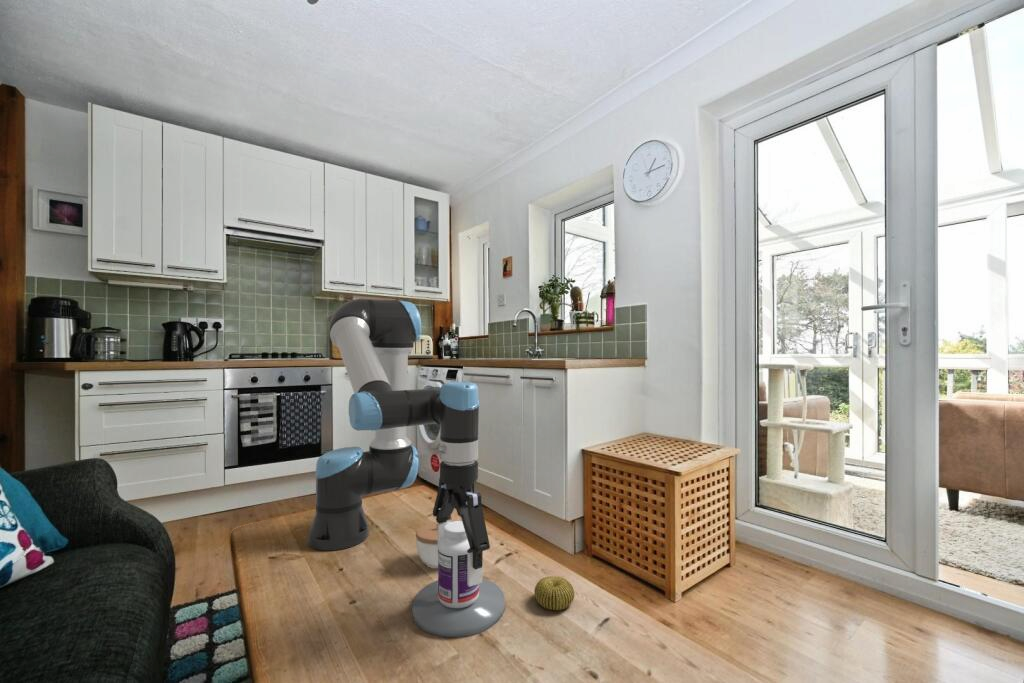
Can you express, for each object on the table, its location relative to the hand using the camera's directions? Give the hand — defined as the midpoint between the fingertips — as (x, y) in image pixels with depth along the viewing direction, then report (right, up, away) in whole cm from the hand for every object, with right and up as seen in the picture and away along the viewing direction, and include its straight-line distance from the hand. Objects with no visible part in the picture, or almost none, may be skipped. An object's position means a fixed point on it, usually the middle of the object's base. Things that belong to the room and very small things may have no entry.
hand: (458, 568), depth 87 cm
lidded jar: (-7, -8, +18) cm, 21 cm away
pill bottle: (0, -6, 0) cm, 6 cm away
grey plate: (0, -8, 0) cm, 8 cm away
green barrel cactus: (+19, -8, +1) cm, 21 cm away
